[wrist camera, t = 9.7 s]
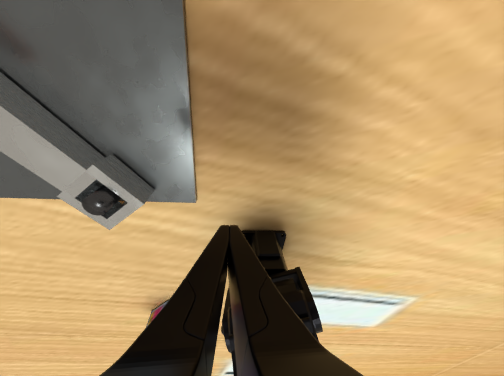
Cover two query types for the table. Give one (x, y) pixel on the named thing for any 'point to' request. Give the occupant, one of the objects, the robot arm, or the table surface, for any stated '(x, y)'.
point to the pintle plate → (105, 88)
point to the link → (64, 156)
